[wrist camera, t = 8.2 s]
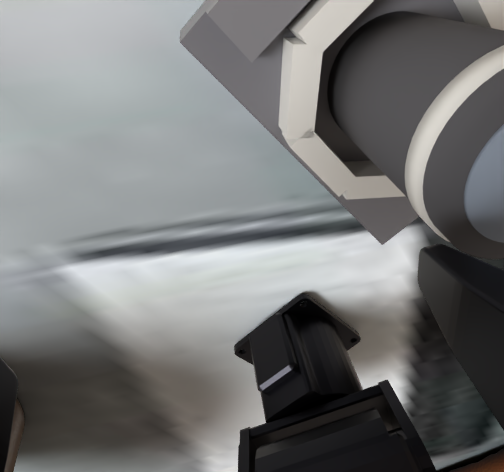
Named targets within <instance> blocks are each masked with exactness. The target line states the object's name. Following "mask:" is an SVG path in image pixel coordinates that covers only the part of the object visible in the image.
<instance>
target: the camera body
mask: <svg viewBox="0 0 504 472" xmlns="http://www.w3.org/2000/svg"><path fill="white" fill-rule="evenodd" d="M397 11H407V12H414V13H419V14H424V15H429V16H434V17H439V18H444V19H449V20H454V21H459V22H464V23H469V24H474V25H479V26H484V27H489V28H494V29H499V30H504V0H205V2H204V3H203V4H202V5H201V7H200V8H199V9H198V10H197V11H196V13H195V14H194V15H193V16H192V17H191V19H190V20H189V21H188V22H187V23H186V25H185V26H184V27H183V28H182V29H181V31H180V43H181V44H182V45H183V46H184V47H185V48H186V49H187V50H188V51H189V52H190V53H191V54H192V55H193V56H194V57H195V58H196V59H197V60H198V61H199V62H200V63H201V64H202V65H203V66H204V67H205V68H206V69H207V70H208V71H209V72H210V73H211V74H212V75H213V76H214V77H215V78H216V79H217V80H218V81H219V82H220V83H221V84H222V85H223V86H224V87H225V88H226V89H227V90H228V91H229V92H230V93H231V94H232V95H233V96H234V97H235V98H236V99H237V100H238V101H239V102H240V103H241V104H242V105H243V106H244V107H245V108H246V109H247V110H248V111H249V112H250V113H251V114H252V115H253V116H254V117H255V118H256V119H257V120H258V121H259V122H260V123H261V124H262V125H263V126H264V127H265V128H266V129H267V130H268V131H269V132H270V133H271V134H272V135H273V136H274V137H275V138H276V139H277V140H278V141H279V142H280V143H281V144H282V145H283V146H284V147H285V148H286V149H287V150H288V151H289V152H290V153H291V154H292V155H293V156H294V157H295V158H296V159H297V160H298V161H299V162H300V163H301V164H302V165H303V166H304V167H305V168H306V169H307V170H308V171H309V172H310V173H311V174H312V175H313V176H314V177H315V178H316V179H317V180H318V181H319V182H320V183H321V184H322V185H323V186H324V187H325V188H326V189H327V190H328V191H329V192H330V193H331V194H332V195H333V196H334V197H335V198H336V199H337V200H338V201H339V202H340V203H341V204H342V205H343V206H344V207H345V208H346V209H347V210H348V211H349V212H350V213H351V214H352V215H353V216H354V217H355V218H356V219H357V220H358V221H359V222H360V223H361V224H362V225H363V226H364V227H365V228H366V229H367V230H368V231H369V232H370V233H371V234H372V235H373V236H374V237H375V238H376V239H377V240H378V241H379V242H380V243H381V244H382V245H383V244H384V243H385V242H387V241H388V240H389V239H391V238H392V237H393V236H394V235H396V234H397V233H398V232H400V231H401V230H402V229H404V228H405V227H406V226H408V225H409V224H410V223H411V222H413V221H414V220H415V219H417V218H418V217H419V215H418V214H417V213H416V211H415V210H414V208H413V207H412V205H411V203H410V201H409V199H408V198H407V197H406V196H405V195H404V194H403V193H402V192H401V191H400V190H399V189H398V188H397V187H396V186H395V185H394V183H393V182H392V181H391V180H390V179H389V178H388V177H387V176H386V175H385V174H384V173H383V172H382V171H381V170H380V169H379V168H378V167H377V166H376V165H375V164H374V163H373V162H372V161H371V160H370V159H369V158H368V157H367V156H366V155H365V154H364V153H363V151H362V150H361V149H360V148H359V147H358V146H357V145H356V144H355V143H354V142H353V141H352V140H351V139H350V138H349V137H348V136H347V135H346V134H345V133H344V132H343V131H342V130H341V129H340V128H339V127H338V125H337V124H336V122H335V121H334V119H333V117H332V115H331V112H330V109H329V104H328V97H327V88H328V80H329V74H330V71H331V68H332V65H333V63H334V60H335V58H336V56H337V54H338V53H339V51H340V49H341V48H342V46H343V45H344V43H345V42H346V41H347V40H348V38H349V37H350V36H351V35H352V34H353V33H354V32H355V31H356V30H357V29H359V28H360V27H361V26H362V25H364V24H365V23H367V22H368V21H370V20H372V19H374V18H376V17H378V16H380V15H383V14H386V13H391V12H397Z"/></svg>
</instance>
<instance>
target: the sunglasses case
mask: <svg viewBox="0 0 504 472" xmlns="http://www.w3.org/2000/svg"><path fill="white" fill-rule="evenodd" d="M449 472H504V449H501V450H500V451H498V452H497V454H491V455H489V456H487V457H486V458H484V459H482V460H481V461H479V462H477V463H471V464H469V465H466V466H463V467H460V468H457V469H454V470H451V471H449Z"/></svg>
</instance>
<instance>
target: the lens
mask: <svg viewBox="0 0 504 472" xmlns="http://www.w3.org/2000/svg"><path fill="white" fill-rule="evenodd" d="M327 97H328V104H329V109H330V112H331V115H332V117H333V119H334V121H335V122H336V124H337V125H338V127H339V128H340V129H341V130H342V131H343V132H344V133H345V134H346V135H347V136H348V137H349V138H350V139H351V140H352V141H353V142H354V143H355V144H356V145H357V146H358V147H359V148H360V149H361V150H362V151H363V153H364V154H365V155H366V156H367V157H368V158H369V159H370V160H371V161H372V162H373V163H374V164H375V165H376V166H377V167H378V168H379V169H380V170H381V171H382V172H383V173H384V174H385V175H386V176H387V177H388V178H389V179H390V180H391V181H392V182H393V183H394V185H395V186H396V187H397V188H398V189H399V190H400V191H401V192H402V193H403V194H404V195H405V196H406V197H407V198H408V199H409V201H410V203H411V205H412V207H413V208H414V210H415V211H416V213H417V214H418V215H419V216H420V217H421V218H422V219H423V220H424V221H425V222H426V224H427V225H428V226H429V227H430V228H431V229H432V230H433V231H434V232H435V233H436V234H437V235H439V236H440V237H442V238H443V239H445V240H447V241H449V242H451V243H452V244H453V245H454V246H455V247H456V248H458V249H459V250H461V251H462V252H464V253H466V254H469V255H471V256H475V257H478V258H485V259H504V30H499V29H494V28H489V27H484V26H479V25H474V24H469V23H464V22H459V21H454V20H449V19H444V18H439V17H434V16H429V15H424V14H419V13H414V12H407V11H397V12H391V13H386V14H383V15H380V16H378V17H376V18H374V19H372V20H370V21H368V22H367V23H365V24H364V25H362V26H361V27H360V28H359V29H357V30H356V31H355V32H354V33H353V34H352V35H351V36H350V37H349V38H348V40H347V41H346V42H345V43H344V45H343V46H342V48H341V49H340V51H339V53H338V54H337V56H336V58H335V60H334V63H333V65H332V68H331V71H330V74H329V80H328V88H327Z"/></svg>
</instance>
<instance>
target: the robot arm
mask: <svg viewBox="0 0 504 472" xmlns="http://www.w3.org/2000/svg"><path fill="white" fill-rule="evenodd" d="M418 284H419V287H420V289H421V291H422V293H423V295H424V297H425V299H426V301H427V303H428V305H429V307H430V309H431V311H432V313H433V315H434V317H435V319H436V321H437V323H438V325H439V327H440V329H441V331H442V333H443V335H444V337H445V339H446V340H447V342H448V344H449V346H450V348H451V350H452V351H453V353H454V355H455V356H456V358H457V360H458V361H459V363H460V364H461V366H462V367H463V369H464V370H465V372H466V373H467V375H468V376H469V378H470V379H471V381H472V382H473V384H474V386H475V387H476V389H477V390H478V392H479V393H480V395H481V396H482V398H483V399H484V401H485V402H486V404H487V405H488V407H489V408H490V410H491V411H492V413H493V415H494V416H495V418H496V419H497V421H498V422H499V424H500V425H501V427H502V428H503V430H504V270H502V269H499V268H497V267H495V266H492V265H490V264H488V263H485V262H483V261H481V260H478V259H476V258H474V257H471V256H469V255H467V254H464V253H462V252H460V251H457V250H455V249H453V248H450V247H448V246H446V245H443V244H436V245H432V246H428V247H424V248H422V249H421V250H420V253H419V263H418ZM303 301H305V302H303ZM301 302H303V303H301ZM358 342H360V336H359V334H358V332H357V331H355V330H354V329H353V328H351V327H350V326H349V325H347V324H346V323H345V322H343V321H342V320H341V319H339V318H338V317H337V316H335V315H334V314H333V313H331V312H330V311H329V310H327V309H326V308H325V307H323V306H322V305H321V304H319V303H318V302H317V301H315V300H314V299H313V298H311V297H310V296H309V295H307V294H301V295H299V296H297V297H296V298H295V299H293V300H292V301H291V302H289V303H288V304H287V305H286V306H284V307H283V308H282V309H280V310H279V311H278V312H277V313H275V314H274V315H273V316H272V317H270V318H269V319H268V320H266V321H265V322H264V323H263V324H261V325H260V326H259V327H257V328H256V329H255V330H254V331H252V332H251V333H250V334H248V335H247V336H246V337H245V338H243V339H242V340H241V341H240V342H238V343H237V344H236V345H235V346H234V351H235V355H237V356H238V357H240V358H242V359H243V360H245V361H247V362H249V363H251V364H253V365H254V370H255V376H256V382H257V388H258V390H259V391H260V392H261V397H262V403H263V408H264V414H265V420H266V423H265V424H262V425H259V426H256V427H253V428H250V427H248V428H245V429H242V430H240V445H239V452H238V472H437V471H436V469H435V467H434V465H433V463H432V460H431V458H430V456H429V454H428V452H427V450H426V448H425V446H424V444H423V442H422V440H421V439H420V437H419V435H418V433H417V431H416V430H415V428H414V426H413V424H412V422H411V421H410V419H409V417H408V415H407V413H406V412H405V410H404V408H403V406H402V405H401V403H400V401H399V399H398V397H397V396H396V394H395V392H394V390H393V388H392V387H391V385H390V383H389V381H388V380H385V381H382V382H379V383H378V385H376V386H373V387H370V388H367V389H364V390H363V388H362V386H361V384H360V381H359V379H358V376H357V374H356V372H355V369H354V367H353V365H352V362H351V360H350V358H349V355H348V353H347V350H349V349H350V348H352V347H353V346H354V345H356V344H357V343H358ZM241 349H242V350H241ZM17 391H18V379H17V376H16V374H15V373H14V372H13V371H12V370H11V368H10V367H9V366H8V365H7V364H6V363H5V362H4V361H3V359H2V358H1V357H0V472H4V471H5V467H6V463H7V458H8V452H9V446H10V439H11V433H12V426H13V419H14V412H15V405H16V398H17Z"/></svg>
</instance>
